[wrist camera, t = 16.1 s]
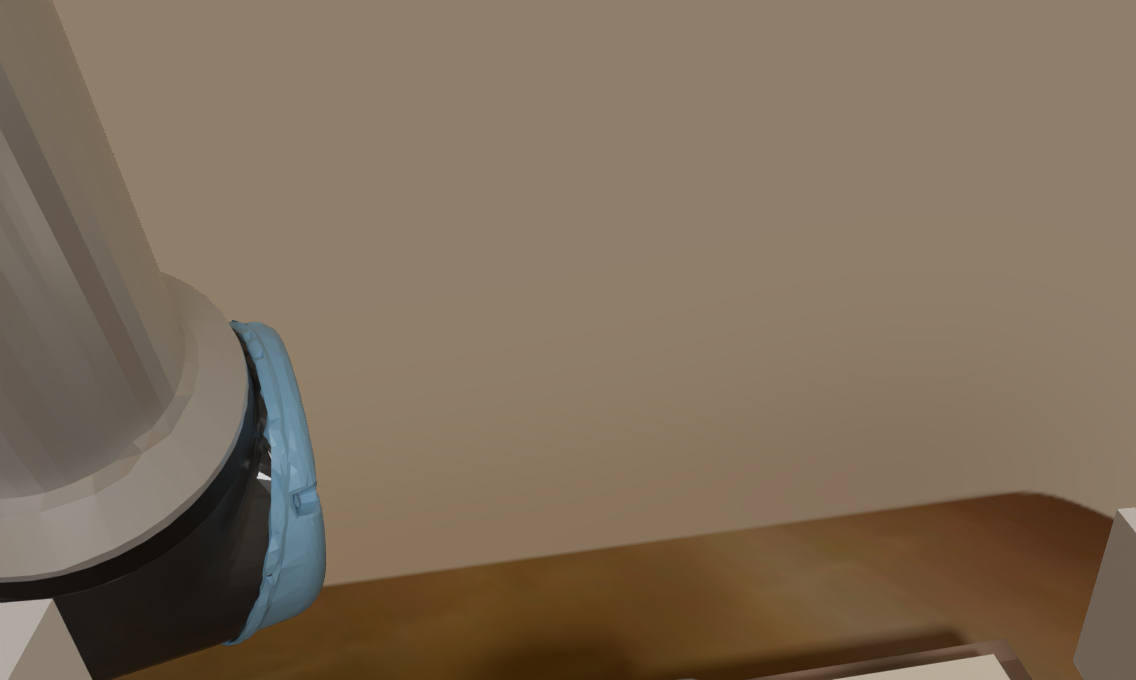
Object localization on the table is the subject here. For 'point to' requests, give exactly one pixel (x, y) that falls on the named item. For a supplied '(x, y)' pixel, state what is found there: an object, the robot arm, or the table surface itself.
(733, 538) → the table surface
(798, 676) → the key pad frame
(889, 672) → the cream key
